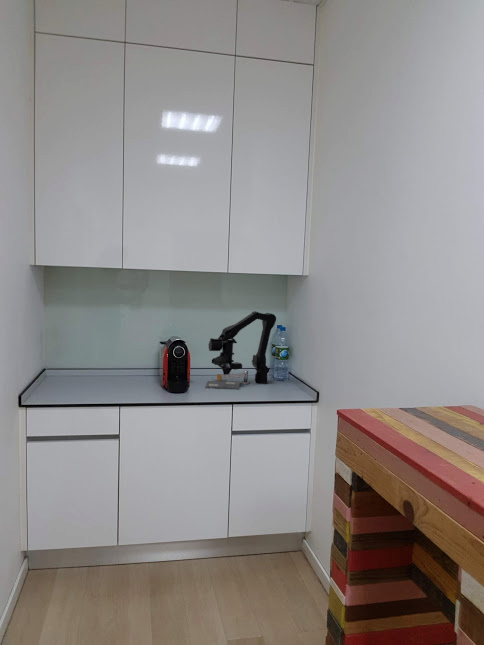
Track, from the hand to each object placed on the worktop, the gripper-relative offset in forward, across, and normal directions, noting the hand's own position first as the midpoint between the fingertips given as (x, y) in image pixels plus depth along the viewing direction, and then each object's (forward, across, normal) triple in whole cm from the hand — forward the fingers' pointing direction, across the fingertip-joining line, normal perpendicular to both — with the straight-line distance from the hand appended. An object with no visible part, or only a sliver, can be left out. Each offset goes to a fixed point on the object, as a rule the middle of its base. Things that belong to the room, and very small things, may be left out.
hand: (225, 378), depth 276 cm
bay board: (+3, +2, -4) cm, 6 cm away
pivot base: (+3, +6, +10) cm, 12 cm away
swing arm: (+2, +4, +2) cm, 5 cm away
